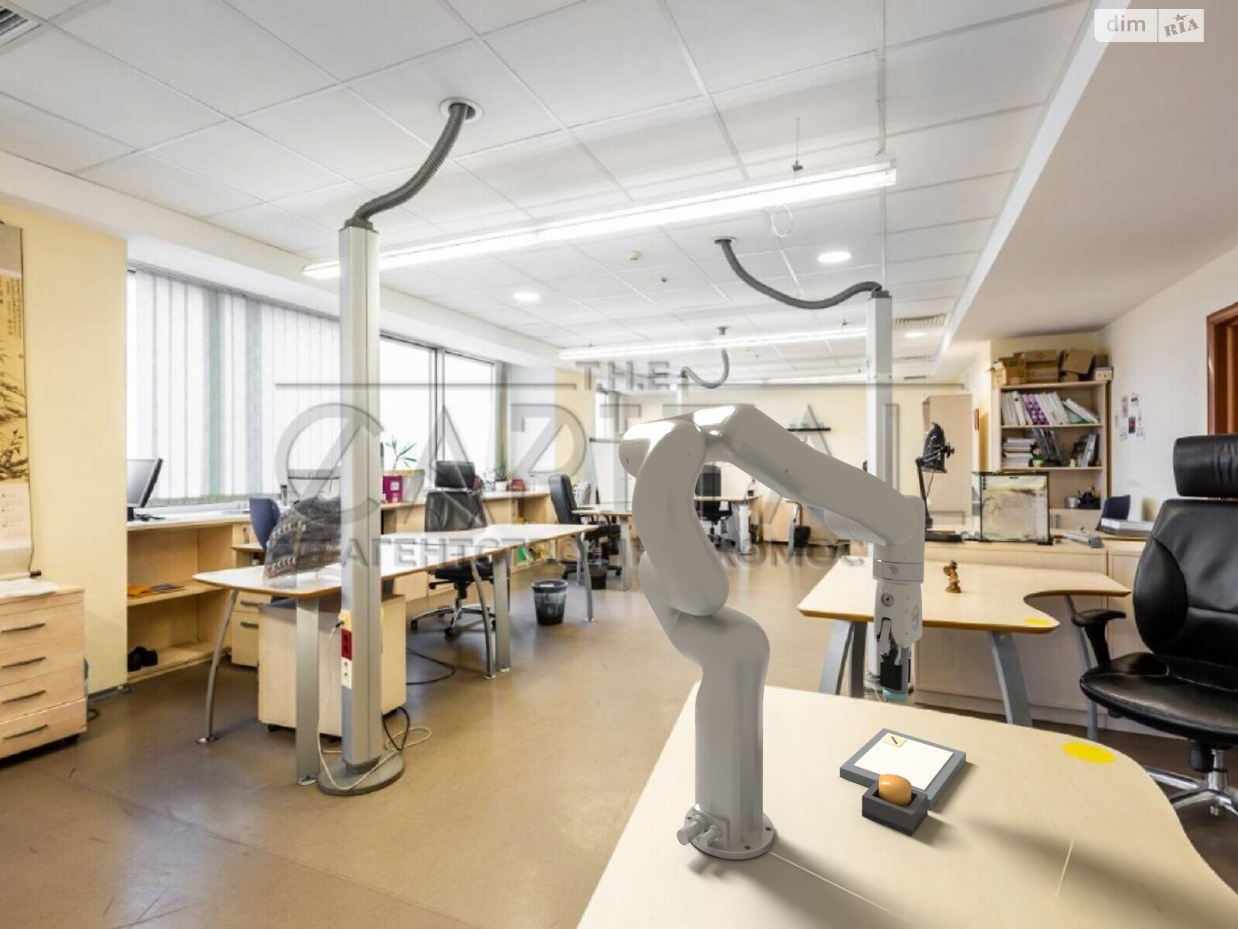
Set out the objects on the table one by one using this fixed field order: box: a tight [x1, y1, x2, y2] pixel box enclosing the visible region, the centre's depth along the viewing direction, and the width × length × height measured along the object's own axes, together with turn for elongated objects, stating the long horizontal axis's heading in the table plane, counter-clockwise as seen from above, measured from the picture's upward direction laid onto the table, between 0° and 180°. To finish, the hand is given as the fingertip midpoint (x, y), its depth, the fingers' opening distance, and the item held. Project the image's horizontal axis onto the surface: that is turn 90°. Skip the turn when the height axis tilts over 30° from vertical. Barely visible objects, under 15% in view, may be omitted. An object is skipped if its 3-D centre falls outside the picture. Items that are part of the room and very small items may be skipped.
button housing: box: [861, 778, 929, 837], centre depth 90 cm, size 7×7×3 cm
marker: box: [882, 640, 909, 703], centre depth 97 cm, size 4×4×11 cm
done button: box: [879, 774, 911, 806], centre depth 90 cm, size 4×4×2 cm
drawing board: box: [839, 727, 967, 811], centre depth 103 cm, size 20×14×2 cm
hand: (895, 683), depth 97 cm, fingers closed on marker, 3 cm apart
